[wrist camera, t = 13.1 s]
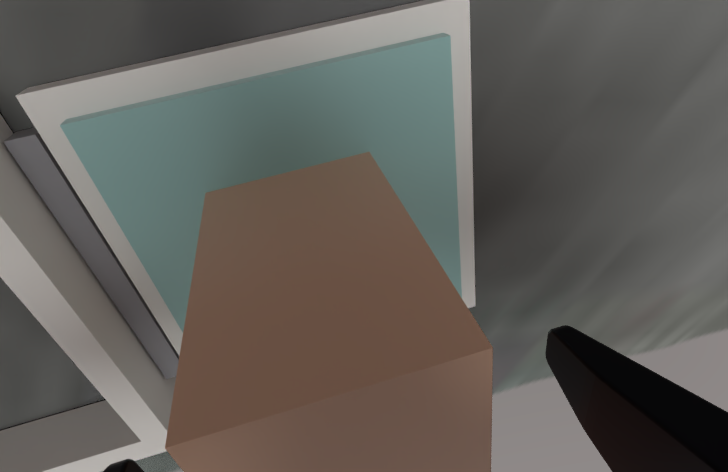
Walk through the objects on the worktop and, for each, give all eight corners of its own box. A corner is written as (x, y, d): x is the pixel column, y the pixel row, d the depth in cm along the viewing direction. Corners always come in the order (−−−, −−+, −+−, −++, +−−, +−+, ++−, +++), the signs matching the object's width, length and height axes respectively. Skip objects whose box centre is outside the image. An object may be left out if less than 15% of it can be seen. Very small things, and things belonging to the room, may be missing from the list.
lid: (179, 378, 18) (175, 405, 17) (-8, 95, 11) (-34, 110, 10) (467, 294, 19) (480, 314, 18) (457, -8, 12) (477, -4, 11)
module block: (259, 318, 16) (270, 578, 9) (205, 192, 13) (164, 448, 6) (390, 281, 16) (490, 503, 10) (369, 151, 13) (492, 347, 7)
